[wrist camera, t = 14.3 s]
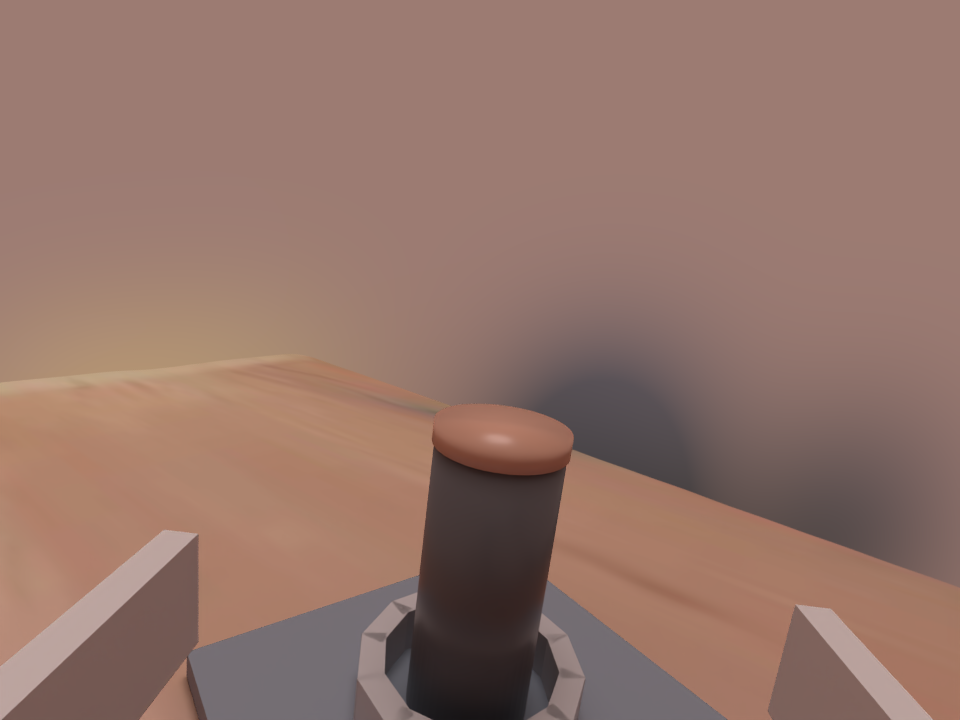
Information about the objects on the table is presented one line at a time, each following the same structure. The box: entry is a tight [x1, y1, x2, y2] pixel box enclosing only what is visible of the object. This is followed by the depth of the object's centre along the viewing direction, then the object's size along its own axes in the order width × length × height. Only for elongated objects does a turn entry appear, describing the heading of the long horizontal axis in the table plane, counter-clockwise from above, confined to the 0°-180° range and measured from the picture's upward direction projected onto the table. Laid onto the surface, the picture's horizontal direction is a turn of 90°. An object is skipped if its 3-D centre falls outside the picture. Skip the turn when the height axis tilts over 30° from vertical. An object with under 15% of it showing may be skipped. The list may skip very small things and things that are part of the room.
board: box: [187, 575, 727, 720], centre depth 22 cm, size 18×16×3 cm
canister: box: [406, 404, 574, 720], centre depth 21 cm, size 5×5×12 cm
